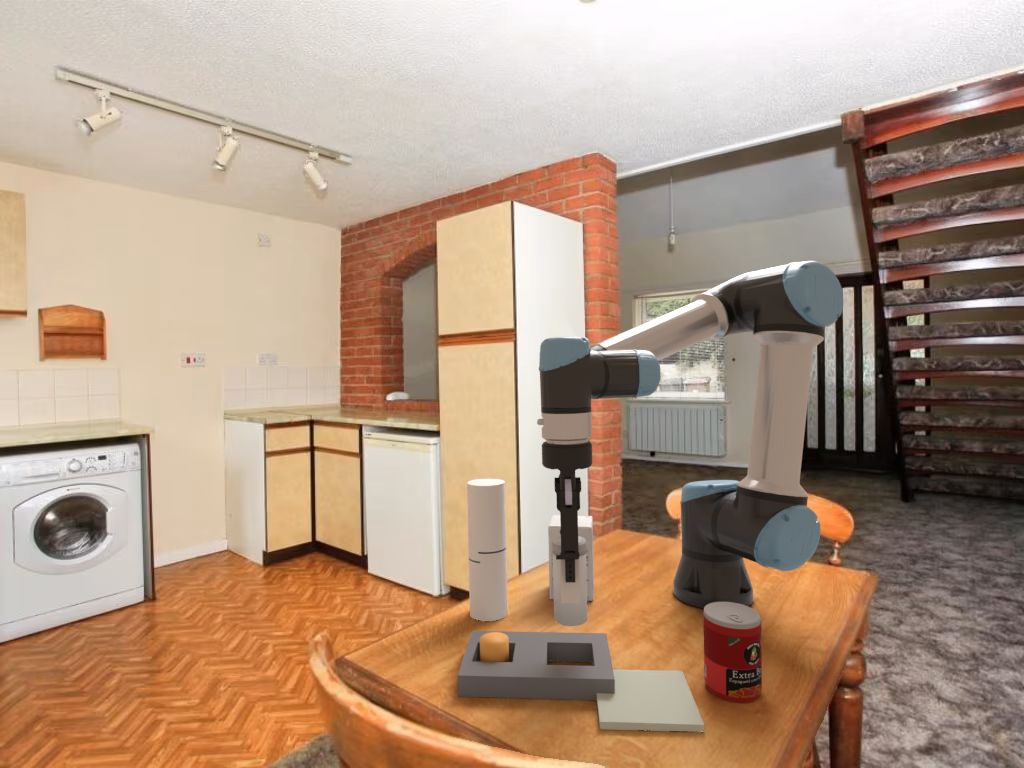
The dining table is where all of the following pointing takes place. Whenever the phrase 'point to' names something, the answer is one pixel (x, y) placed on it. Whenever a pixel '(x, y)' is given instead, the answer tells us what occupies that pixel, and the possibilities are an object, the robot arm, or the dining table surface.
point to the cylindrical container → (487, 549)
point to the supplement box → (586, 532)
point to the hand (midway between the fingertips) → (570, 593)
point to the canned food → (732, 651)
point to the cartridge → (562, 611)
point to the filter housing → (539, 667)
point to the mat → (649, 702)
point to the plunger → (494, 647)
